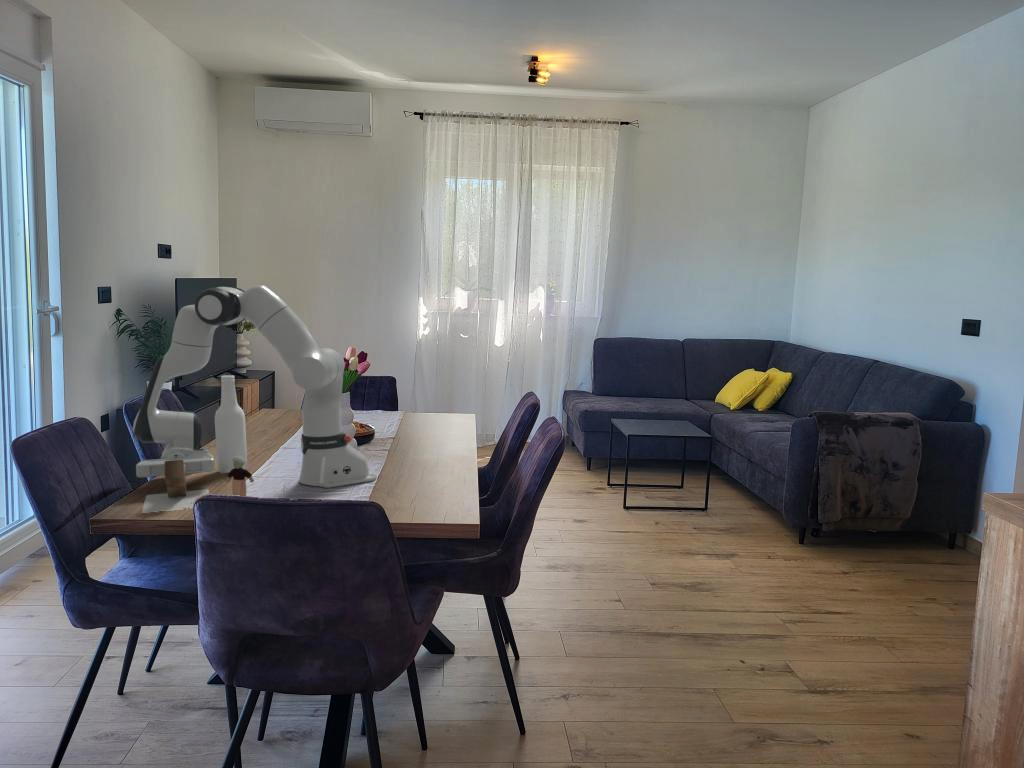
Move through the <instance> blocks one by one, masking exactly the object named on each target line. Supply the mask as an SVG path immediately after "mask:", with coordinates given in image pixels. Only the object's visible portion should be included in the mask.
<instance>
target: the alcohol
mask: <svg viewBox="0 0 1024 768" xmlns="http://www.w3.org/2000/svg"><path fill="white" fill-rule="evenodd" d="M220 378H221V380H220V382H221V388H220V390H221V393H220V394H221V395H220V397H221V398H220V405H219V407H218V408H217V409H216V411H215V414H214V429H215V448H216V465H217V468H216V469H217V472H218V473H219V474H222V475H223V474H224V475H225V474H229V472H230V471H231V470H232V469H234V466H233V461H232V460H233V457H234V456H241V457H242V458H243V459H244V460H245V462H246V463H245V464H244V465H243V467H242V468H243V469H245V470H248V469H247V468H248V455H247V454H248V451H247V433H246V431H247V429H246V414H245V412H244V409H242V407H241V406H240V405H239V403H238V400H237V399H238V398H237V391H236V385H235V384H236V383H235V381H236V379H235V378H236V377H235V375H232V374H227V375H226V374H224V375H221V376H220Z"/></svg>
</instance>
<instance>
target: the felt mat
mask: <svg viewBox="0 0 1024 768" xmlns="http://www.w3.org/2000/svg"><path fill="white" fill-rule="evenodd" d="M209 492H210V489H208V488H207V489H196V490H188V491H187V490H186V496H184V497H173V498H168V492H163V493H153V494H147V495H145V499H144V504H143V507H142V509H141V510H142V511H141V514H142V513H147V514H150V513H149V512H154V511H160V510H165V511H166V512H174V511H175V510H176V511H184V509H183V508H187V509H186V510H193V509H192V508H193V503H194V501H195V499H196V498H198V497H199V496H202V495H206V494H209V495H210V493H209ZM191 503H192V504H191ZM188 507H189V508H190V509H188Z"/></svg>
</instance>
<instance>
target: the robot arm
mask: <svg viewBox="0 0 1024 768" xmlns="http://www.w3.org/2000/svg"><path fill="white" fill-rule="evenodd" d="M245 320H247V321H249V322H250V323H251V324H252V325H253V326H254V327H255V328H256V329H257V330H258V332H260V334H261V335H262V336H263V337H264V338H265V339H266V340H267V342H268V343H269V344H270V345H271V346H272V347H273V348H274V349H275V351H277V353H278V354H279V356H280V357H281V359H282V360H283V362H284V363H285V365H286V366H287V368H288V370H289V371H290V372H291V375H292V379H293V381H294V383H295V384H296V385H297V386H298V387H299V388H301V389H303V390H305V391H304V398H303V402H302V406H301V417H302V418H301V419H302V423H301V424H302V434H301V438H300V442H301V443H300V447H301V448H300V449H301V454H302V460H301V461H302V462H301V470H300V475H299V478H298V482H299V483H300V484H303V485H306V486H314V487H320V488H327V489H328V488H335V487H341V486H349V485H353V484H354V485H355V484H361V483H367V482H372V481H373V482H374V481H375V480H376V479H377V474H376V473H377V472H375V471H374V470H373V469H372V468H369V463H368V460H367V458H366V457H365V455H364V454H363V453H362V452H360V451H359V450H357V449H356V448H354V447H353V446H351V445H350V444H349V443H351V442H352V441H353V440H352V436H350V435H349V434H347V433H346V432H343V431H342V423H341V422H342V421H341V417H342V415H341V412H342V411H341V407H342V406H341V403H342V393H343V384H344V383H343V382H344V372H345V367H346V365H345V360H344V359H345V358H343V357H344V356H342V354H341V353H340V352H339V351H337V350H335V349H332V348H329V347H322V348H320V347H319V344H318V343H317V341H315V339H314V337H313V336H312V335H311V333H310V331H309V328H308V326H307V325H306V324H305V322H304V321H303V320H301V318H300V317H299V316H298V315H297V314H296V313H295V311H294V310H293V309H291V307H290V306H289V305H288V304H287V303H286V302H285V301H284V299H282V298H281V297H280V296H279V295H278V294H277V293H275V292H274V291H273V290H272V289H270V288H268V287H267V286H266V285H262V284H257V285H253V286H250V287H249V288H247V290H243V289H241V288H239V287H236V286H233V287H231V286H218V287H209V288H207V289H205V290H204V291H201V292H200V293H199V294H198V295H197V297H196V299H195V302H194V304H189V305H186V306H185V305H184V306H183V307H181V308H180V309H179V311H178V313H177V316H176V320H175V322H174V326H173V331H172V337H171V344H170V346H169V349H168V351H167V352H166V353H165V354H164V355H162V356H159V357H158V358H157V360H156V362H155V363H154V366H153V369H152V372H151V374H150V377H149V380H148V383H147V386H146V389H145V392H144V395H143V397H142V403H141V406H140V408H139V410H138V412H137V414H136V415H135V418H134V420H133V425H132V432H133V436H135V438H136V439H137V440H138V441H140V443H142V444H156V443H158V444H167V445H165V447H164V449H163V451H162V452H161V453H162V454H161V457H160V458H156V459H154V458H153V459H144V460H141V461H139V462H138V463H136V465H135V474H136V477H137V478H150V477H151V478H152V477H165V461H173V460H183V462H184V471H185V477H186V476H187V477H188V476H192V475H194V474H200V473H212V472H214V471H215V470H216V467H215V466H216V465H215V457H214V455H213V454H211V453H210V452H209V450H208V449H207V448H206V449H204V448H199V447H200V445H201V441H202V430H203V429H202V420H201V419H200V417H199V416H198V415H197V413H194V412H188V411H187V412H186V411H172V410H163V409H162V410H161V409H158V407H157V405H158V402H159V399H160V396H161V392H162V390H163V386H164V384H165V383H166V382H167V381H169V380H170V379H174V378H176V377H177V378H178V377H180V376H184V375H185V376H186V375H189V374H193V373H195V372H198V371H200V370H202V369H203V368H204V367H205V366H206V365H207V364H208V362H209V361H210V359H211V354H212V349H213V342H214V334H215V331H216V329H218V327H219V326H230V325H234V324H238V323H242V322H243V321H245Z"/></svg>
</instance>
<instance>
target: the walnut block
mask: <svg viewBox="0 0 1024 768" xmlns="http://www.w3.org/2000/svg"><path fill="white" fill-rule="evenodd" d="M164 478H165V486H166V491H167V492H166V493H168V498H173V497H184V496H186V491H187V481H186V480H187V479H186V476H185V471H184V462H183V460H173V461H165V476H164Z"/></svg>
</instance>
